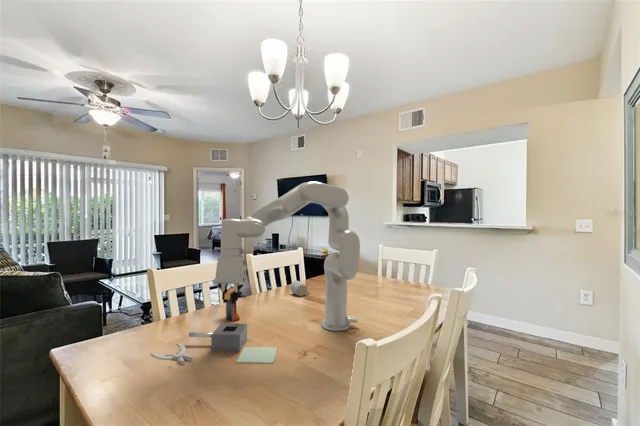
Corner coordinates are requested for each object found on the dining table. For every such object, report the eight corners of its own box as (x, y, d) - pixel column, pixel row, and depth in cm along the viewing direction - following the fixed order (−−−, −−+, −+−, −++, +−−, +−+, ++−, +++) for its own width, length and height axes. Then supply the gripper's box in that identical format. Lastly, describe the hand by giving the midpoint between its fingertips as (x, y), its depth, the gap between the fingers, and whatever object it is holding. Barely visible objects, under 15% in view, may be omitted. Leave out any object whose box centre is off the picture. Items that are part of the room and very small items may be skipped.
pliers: (179, 340, 106) (201, 353, 97) (178, 344, 106) (201, 357, 97) (150, 350, 98) (172, 365, 89) (150, 355, 98) (172, 370, 89)
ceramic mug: (297, 297, 164) (297, 284, 164) (289, 294, 171) (290, 281, 171) (312, 295, 170) (312, 282, 170) (304, 291, 177) (305, 279, 177)
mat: (277, 348, 104) (277, 347, 104) (273, 363, 94) (273, 362, 94) (244, 348, 104) (244, 346, 104) (236, 362, 94) (236, 361, 94)
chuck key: (236, 316, 109) (237, 288, 109) (230, 323, 102) (231, 294, 102) (229, 315, 109) (229, 288, 109) (222, 323, 102) (223, 293, 102)
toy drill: (240, 327, 118) (239, 290, 119) (224, 319, 133) (223, 286, 134) (251, 324, 121) (250, 288, 122) (235, 316, 136) (234, 284, 137)
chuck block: (246, 339, 111) (247, 323, 111) (239, 352, 101) (239, 335, 101) (195, 338, 111) (195, 322, 111) (182, 350, 101) (183, 333, 101)
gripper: (255, 251, 109) (254, 299, 109) (213, 250, 109) (212, 298, 109) (250, 254, 102) (249, 306, 102) (205, 253, 102) (204, 304, 102)
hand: (230, 301), depth 105 cm, fingers closed on chuck key, 2 cm apart
